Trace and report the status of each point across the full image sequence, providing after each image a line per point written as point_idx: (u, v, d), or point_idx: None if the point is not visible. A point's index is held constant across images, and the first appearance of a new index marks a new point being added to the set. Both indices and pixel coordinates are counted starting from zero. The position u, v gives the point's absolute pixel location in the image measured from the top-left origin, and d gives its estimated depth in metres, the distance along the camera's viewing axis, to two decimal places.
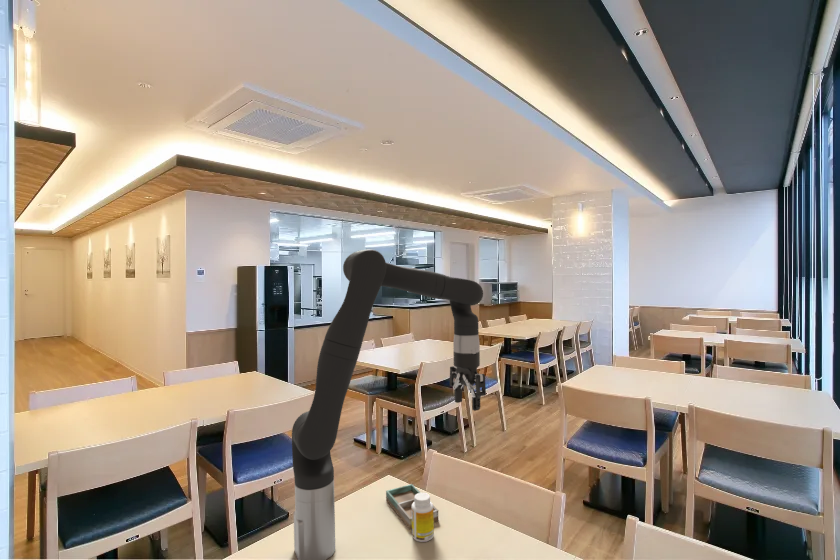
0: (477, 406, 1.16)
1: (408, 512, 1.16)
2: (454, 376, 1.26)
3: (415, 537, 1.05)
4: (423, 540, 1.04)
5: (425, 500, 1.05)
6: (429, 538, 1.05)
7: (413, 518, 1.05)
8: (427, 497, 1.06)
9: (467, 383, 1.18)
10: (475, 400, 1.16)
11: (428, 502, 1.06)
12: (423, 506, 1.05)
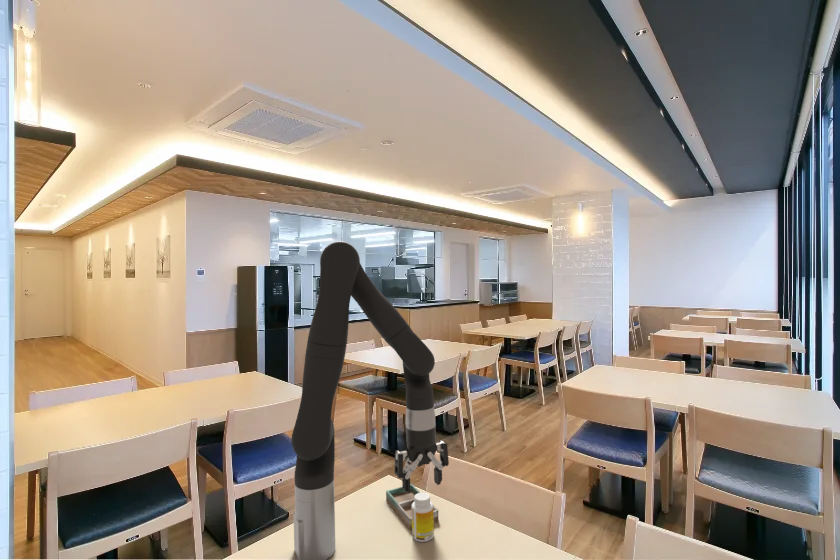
0: None
1: (408, 512, 1.16)
2: None
3: (415, 537, 1.05)
4: (423, 540, 1.04)
5: (425, 500, 1.05)
6: (429, 538, 1.05)
7: (413, 518, 1.05)
8: (427, 497, 1.06)
9: (434, 459, 1.06)
10: (440, 472, 1.08)
11: (428, 502, 1.06)
12: (423, 506, 1.05)
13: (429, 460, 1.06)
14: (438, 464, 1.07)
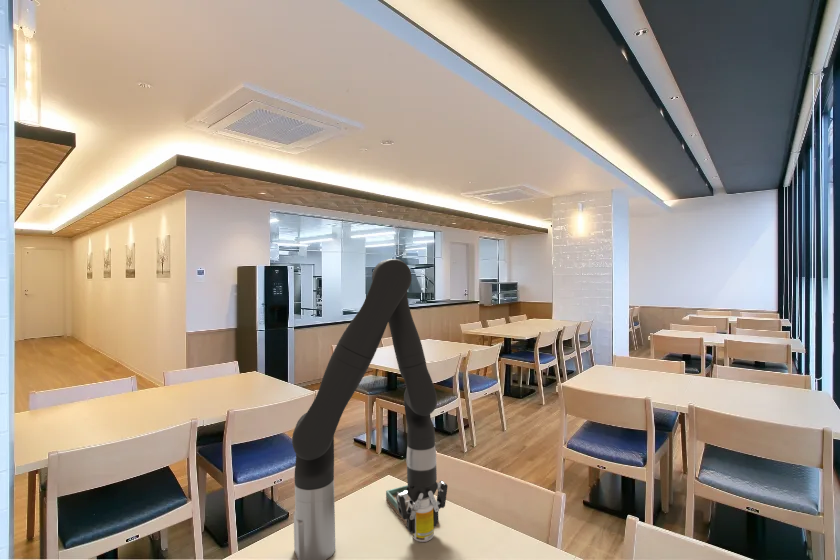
0: None
1: None
2: None
3: (415, 537, 1.05)
4: (423, 540, 1.04)
5: (425, 500, 1.05)
6: (429, 538, 1.05)
7: None
8: (427, 497, 1.06)
9: (433, 499, 1.06)
10: (436, 514, 1.08)
11: (428, 502, 1.06)
12: (423, 506, 1.05)
13: None
14: (434, 506, 1.07)
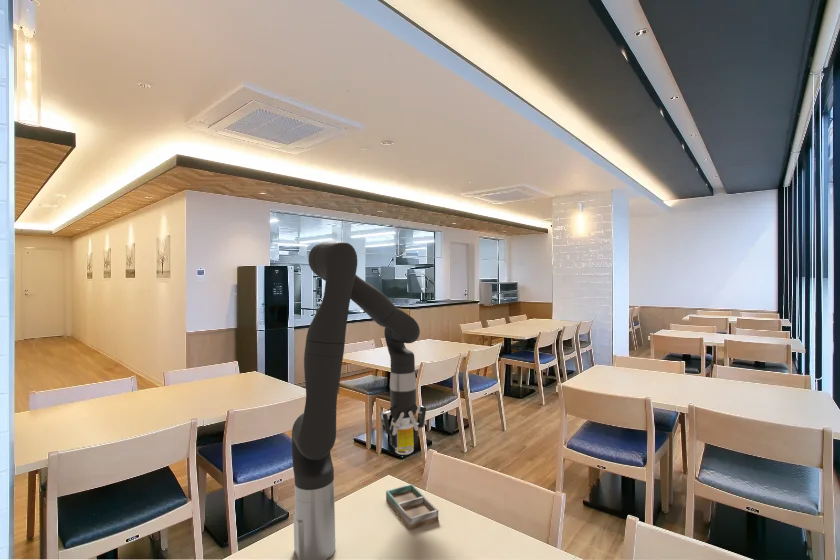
0: None
1: (408, 512, 1.16)
2: None
3: (397, 451, 1.20)
4: (404, 453, 1.19)
5: (405, 419, 1.20)
6: (409, 451, 1.20)
7: None
8: (408, 417, 1.21)
9: (413, 418, 1.22)
10: (416, 433, 1.23)
11: (408, 421, 1.21)
12: (404, 424, 1.20)
13: None
14: (414, 425, 1.22)
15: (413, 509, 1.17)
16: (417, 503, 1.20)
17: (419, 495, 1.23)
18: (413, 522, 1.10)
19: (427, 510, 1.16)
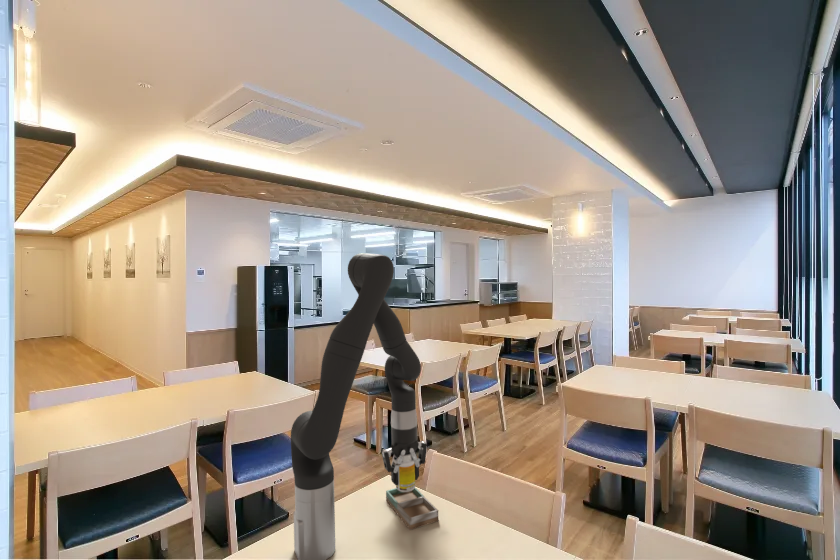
0: None
1: (408, 512, 1.16)
2: None
3: (398, 488, 1.20)
4: (405, 490, 1.20)
5: (407, 456, 1.20)
6: (411, 489, 1.20)
7: None
8: (409, 454, 1.22)
9: (414, 455, 1.22)
10: (417, 469, 1.23)
11: (410, 458, 1.21)
12: (405, 461, 1.20)
13: None
14: (415, 462, 1.22)
15: (413, 509, 1.17)
16: (417, 503, 1.20)
17: (419, 495, 1.23)
18: (413, 522, 1.10)
19: (427, 510, 1.16)
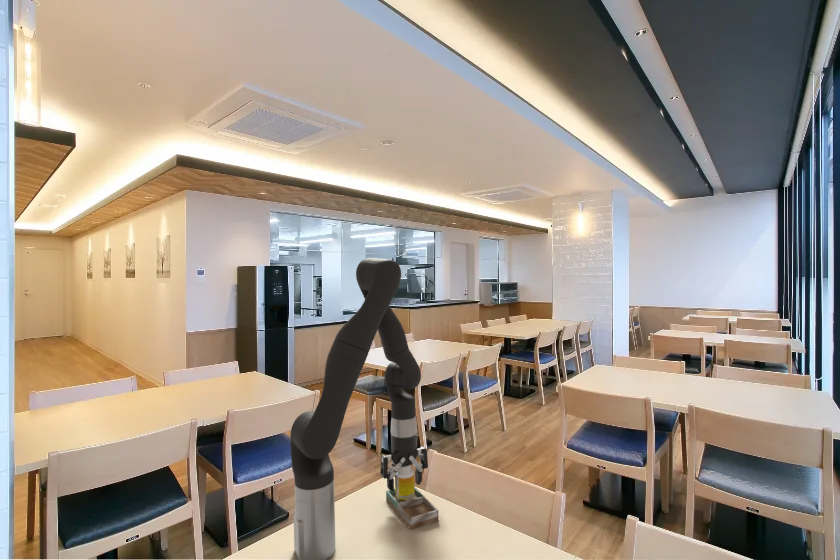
0: None
1: (408, 512, 1.16)
2: None
3: (398, 499, 1.20)
4: None
5: (406, 468, 1.20)
6: None
7: (396, 483, 1.21)
8: (408, 465, 1.22)
9: (415, 462, 1.22)
10: (420, 474, 1.24)
11: (409, 469, 1.21)
12: (405, 472, 1.20)
13: (411, 463, 1.22)
14: (418, 467, 1.23)
15: (413, 509, 1.17)
16: (417, 503, 1.20)
17: (419, 495, 1.23)
18: (413, 522, 1.10)
19: (427, 510, 1.16)
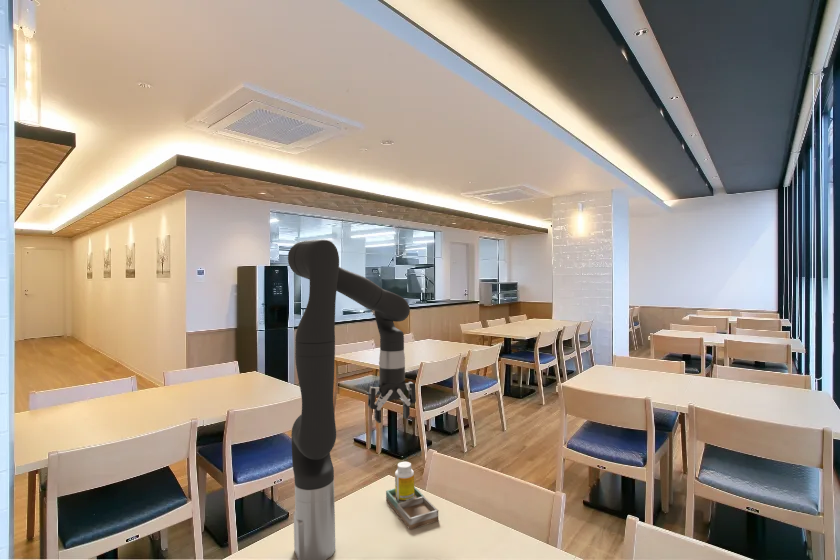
0: None
1: (408, 512, 1.16)
2: None
3: (398, 499, 1.20)
4: None
5: (406, 467, 1.21)
6: None
7: (396, 483, 1.21)
8: (408, 465, 1.22)
9: (402, 395, 1.23)
10: (408, 408, 1.25)
11: (409, 469, 1.21)
12: (405, 472, 1.20)
13: (398, 396, 1.23)
14: (406, 400, 1.24)
15: (413, 509, 1.17)
16: (417, 503, 1.20)
17: (419, 495, 1.23)
18: (413, 522, 1.10)
19: (427, 510, 1.16)
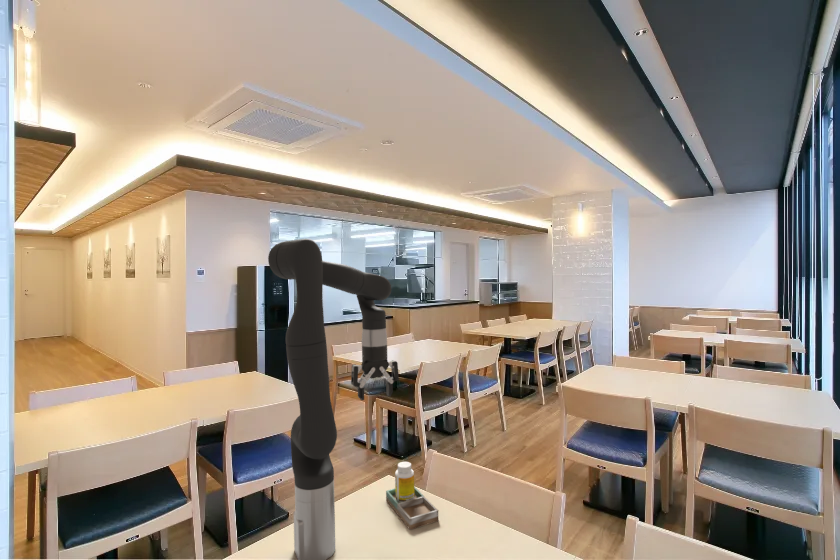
0: None
1: (408, 512, 1.16)
2: None
3: (398, 499, 1.20)
4: None
5: (406, 468, 1.20)
6: None
7: (396, 483, 1.21)
8: (408, 465, 1.22)
9: (385, 373, 1.25)
10: (391, 386, 1.27)
11: (409, 469, 1.21)
12: (405, 472, 1.20)
13: (381, 374, 1.25)
14: (389, 378, 1.26)
15: (413, 509, 1.17)
16: (417, 503, 1.20)
17: (419, 495, 1.23)
18: (413, 522, 1.10)
19: (427, 510, 1.16)
